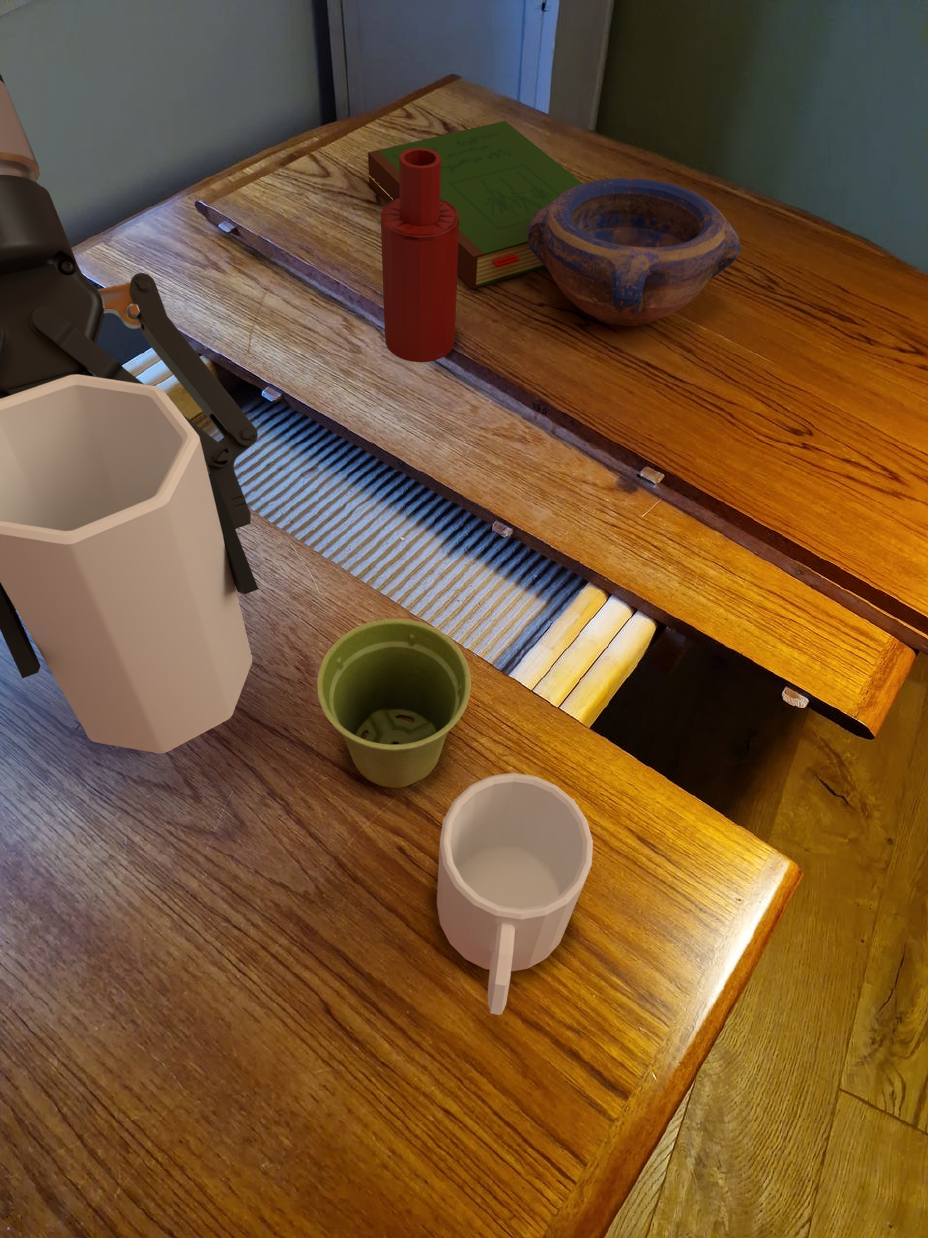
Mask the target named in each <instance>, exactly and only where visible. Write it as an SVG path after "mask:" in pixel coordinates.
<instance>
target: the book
mask: <svg viewBox="0 0 928 1238" xmlns="http://www.w3.org/2000/svg"><path fill="white" fill-rule="evenodd" d="M413 148H425V149H431V150H433V151H435V152H437V153H438V154H439V156H440V157H441V186H440V199H441V200H444V201H447V202H448V203H450V204H451V205H452V206H453V207H455V208H456V210H457V212H458V215H459V241H458V268H457V277H459V278H460V279H461V280H462V282H464V283H465V284H466V285H467V287H469V289H471V290H474V289H478V288H482V287H485V286H488V285H492V284H495V283H498V282H502V281H505V280H508V279H511V278H515V277H518V276H522V275H526V274H528V273H531V272H535V271H538V270H542V269H546V267H545V266H544V265H543V263H542V262H541V261H540V260H539V258H538V257H537V256H536V255H535V254H534V253H533V251H532V250H531V249H530V246H529V243H528V238H527V225H528V224H529V222H530V221H531V219H532V218H533V216H534V215H535V213H536V212H537V211H539V210H540V209H542V208H544V207H545V206H547V205H548V204H549V203H551V202H552V201H553V200H555V199H556V198H557V197H558V196H559V195H561V194H562V193H563V192H564V191H566V190H569V189H571V188H573V187H575V186H578V185H582V184H584V182H582V181H581V180H579V179H578V178H577V177H575V176H574V175H573V174H572V173H570V172H569V171H568V170H567V169H565V168H564V166H562V165H561V164H560V163H558V162H557V161H555V159H553V158H552V157H551V156H549V155H548V154H547V153H546V152H545V151H544V150H542V149H541V148H539V146H537V145H536V144H535V143H534V142H533V141H531V140H530V139H529V138H527V137H526V136H525V135H523V134H522V133H521V132H520V131H519V130H517V129H516V128H515V127H514V126H513V125H511V124H510V123H509V122H507V120H503V121H498V122H494V123H489V124H485V125H481V126H476V127H472V128H468V129H464V130H459V131H454V132H450V133H446V134H442V135H438V136H433V137H429V138H425V139H424V138H423V139H419V140H415V141H411V142H407V143H403V144H398V145H393V146H389V147H385V148H381V149H377V150H372V151H368V152H367V163H368V164H367V165H368V184H369V186H370V187H371V188H372V189H373V190H374V191H375V192H376V193H377V194H378V195H379V196H380V197H381V198H382V199H383V200H384V201H385V202H386V203H387V204H388V203H390V202H391V201H393V200H395V199H399V198H400V184H399V157H400V155H401V153H402V152H404V151H406V150H408V149H413ZM369 175H370V176H371V177H372V178H374V179H375V181H376V182H378V183H379V185H380V186H381V187H382V188H383V189H384V190H385V191H386V192H387V193H388V194H389V195H390V197H392V198H393V200H392V199H391V198H390V197H389V196H388V195H387V194H386V193H385V192H384V191H383V190H382V189H381V188H380V187H379V186H378V185H377V184H376V183H375V182H374V181H373V180H372V179H371V178H370V177H369Z"/></svg>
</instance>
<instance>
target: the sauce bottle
mask: <svg viewBox="0 0 928 1238" xmlns="http://www.w3.org/2000/svg"><path fill="white" fill-rule="evenodd" d="M399 184H400V198H399V199H395V200H393V201H391V202H390V203H387V204H385V205H384V206H383V207H382V210H381V212H380V238H381V240H380V241H381V266H382V269H381V270H382V294H383V295H382V297H383V320H384V321H383V322H384V323H383V324H384V338H385V339H384V340H385V345H386V347H387V349H388V351H389V352H390V353H391V354H392V355H393V356H395V357H397V358H399V359H401V360H404V361H407V362H412V363H430V362H434V361H435V362H436V361H438V360H441V359H442V358H444V357H445V356H446V357H447V355H448V354H450V352H451V351H452V350H453V347H454V346H455V338H456V319H457V318H456V317H457V292H458V291H457V290H458V275H457V268H458V241H459V215H458V212H457V210H456V208H455V207H453V206H452V205H451V204H450V203H448V202H447V201H444V200H441V199H440V186H441V157H440V156H439V154H438V153H437V152H435V151H433V150H431V149H425V148H413V149H408V150H406V151H404V152H402V153H401V155H400V157H399Z"/></svg>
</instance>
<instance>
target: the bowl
mask: <svg viewBox="0 0 928 1238" xmlns="http://www.w3.org/2000/svg"><path fill="white" fill-rule="evenodd" d="M527 238H528V243H529V246H530V249H531V250H532V251H533V253H534V254H535V255H536V256H537V257H538V258H539V260H540V261H541V262H542V263H543V265H544V266H545V269H546V270H547V271H548V273H549V274H550V275H551V277H552V278H553V280H554V282H555V284H556V285H557V287H558V288H559V290H560V291H561V292H562V293H563V295H564V296H565V297H566V298H567V299H568V300H569V301H570V302H572V304H573V305H574V306H576V307H577V308H578V309H580V310H581V311H583V312H584V313H586V314H587V315H589V316H591V317H593V318H595V319H596V320H597V321H600V322H602V323H604V324H606V325H613V326H620V327H639V326H645V325H647V324H650V323H652V322H656V321H657V320H660V319H663V318H667V317H668V316H670V315H672V314H674V313H676V312H677V311H679V310H681V309H682V308H684V307H685V306H687V305H688V304H689V303H690V302H692V300H694V299H695V298H696V297H697V296H699V294H701V292H702V291H703V290H704V289H705V287H706V286H707V284H708V283H709V281H711V280H712V279H713V278H714V277H716V276H717V275H718V274H720V273H721V272H722V271H724V270H726V268H729V266H731V265H732V264H733V263H734V262H735V261H736V260H737V259H738V257H739V255H740V253H741V252H742V249H741V239H740V237H739V235H738V231H737V229H736V228H735V227H734V226H733V225H732V224H731V223H730V222H729V221H728V220H727V218H726V217H725V216H724V215H723V213H722V212H721V211H720V210H719V209H718V208H717V207H716V206H715V205H714V204H713V203H712V202H711V201H710V200H708V199H707V198H705V197H703V196H702V195H701V194H698V193H697V192H695V191H693V190H691V189H688V188H686V187H682V186H679V185H676V184H673V183H669V182H663V181H658V180H652V179H645V178H637V177H615V178H606V179H599V180H592V181H589V182H585V183H583V184H582V185H578V186H575V187H573V188H571V189H569V190H566V191H564V192H563V193H562V194H561V195H559V196H558V197H557V198H556V199H555V200H553V201H552V202H551V203H549V204H548V205H547V206H545V207H544V208H542V209H540V210H539V211H537V212H536V213H535V215H534V216H533V218H532V219H531V221H530V222H529V224H528V225H527Z"/></svg>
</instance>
